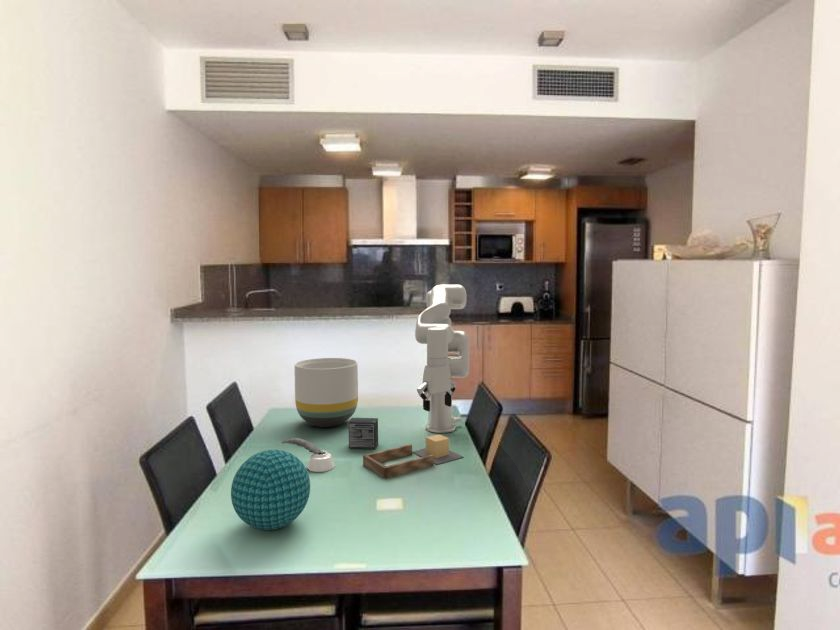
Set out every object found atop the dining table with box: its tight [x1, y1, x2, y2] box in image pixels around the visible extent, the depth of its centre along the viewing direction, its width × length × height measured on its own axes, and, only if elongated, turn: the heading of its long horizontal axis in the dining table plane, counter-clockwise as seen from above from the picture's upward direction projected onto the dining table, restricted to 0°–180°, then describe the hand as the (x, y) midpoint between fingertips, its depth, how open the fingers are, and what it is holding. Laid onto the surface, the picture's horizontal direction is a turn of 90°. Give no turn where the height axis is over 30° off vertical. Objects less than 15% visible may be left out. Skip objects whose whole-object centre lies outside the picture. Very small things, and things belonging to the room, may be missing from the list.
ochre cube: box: [425, 433, 450, 458], centre depth 190 cm, size 6×6×6 cm
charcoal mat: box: [412, 447, 464, 466], centre depth 190 cm, size 12×15×1 cm
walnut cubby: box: [362, 443, 435, 480], centre depth 180 cm, size 20×14×4 cm
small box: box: [348, 417, 379, 450], centre depth 199 cm, size 11×6×10 cm, turn 84°
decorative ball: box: [230, 449, 311, 531], centre depth 137 cm, size 20×20×20 cm
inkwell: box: [281, 437, 335, 473], centre depth 178 cm, size 9×18×10 cm, turn 90°
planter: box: [294, 357, 359, 428], centre depth 227 cm, size 27×27×27 cm
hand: (437, 408), depth 189 cm, fingers open, 9 cm apart
